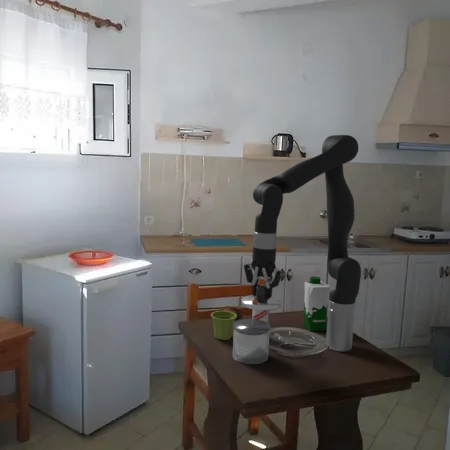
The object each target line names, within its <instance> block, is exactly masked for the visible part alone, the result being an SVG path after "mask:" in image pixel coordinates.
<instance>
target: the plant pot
mask: <svg viewBox="0 0 450 450" xmlns="http://www.w3.org/2000/svg"><path fill="white" fill-rule="evenodd" d="M210 316H211V318H212V322H213V324H212V325H213V333H214V338H215V340H222V341H228V340H230V339H231V338H232V335H233V331H234V328H233V323H234V321H235V318H236V317H237V315H236V314H235V313H232V312H228V311H223V310H216V311H214V312H211V315H210Z"/></svg>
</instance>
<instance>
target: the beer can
mask: <svg viewBox="0 0 450 450" xmlns="http://www.w3.org/2000/svg"><path fill="white" fill-rule="evenodd" d="M251 316H252V317H251V319H256V320H261V321H264V322H267V323H268V324H270V311H260V310H253V309H252V315H251Z"/></svg>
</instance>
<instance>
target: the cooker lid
mask: <svg viewBox="0 0 450 450" xmlns="http://www.w3.org/2000/svg"><path fill="white" fill-rule="evenodd" d="M266 288H267V287H266V284H263V283H262V284H261V283H260V284H259V283H258V285H256V297H254V296H253V294H250V295H246V296H244V297H242V298H241V306H243V307H244V308H247V309H250V310H252V311H253V310H260V311H277V310H279V309H281V308H282V301H281V300H280V299H279V298H277V297H274V296H272V297H271V298H270V299H268V300H267V299H265V295H266Z"/></svg>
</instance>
